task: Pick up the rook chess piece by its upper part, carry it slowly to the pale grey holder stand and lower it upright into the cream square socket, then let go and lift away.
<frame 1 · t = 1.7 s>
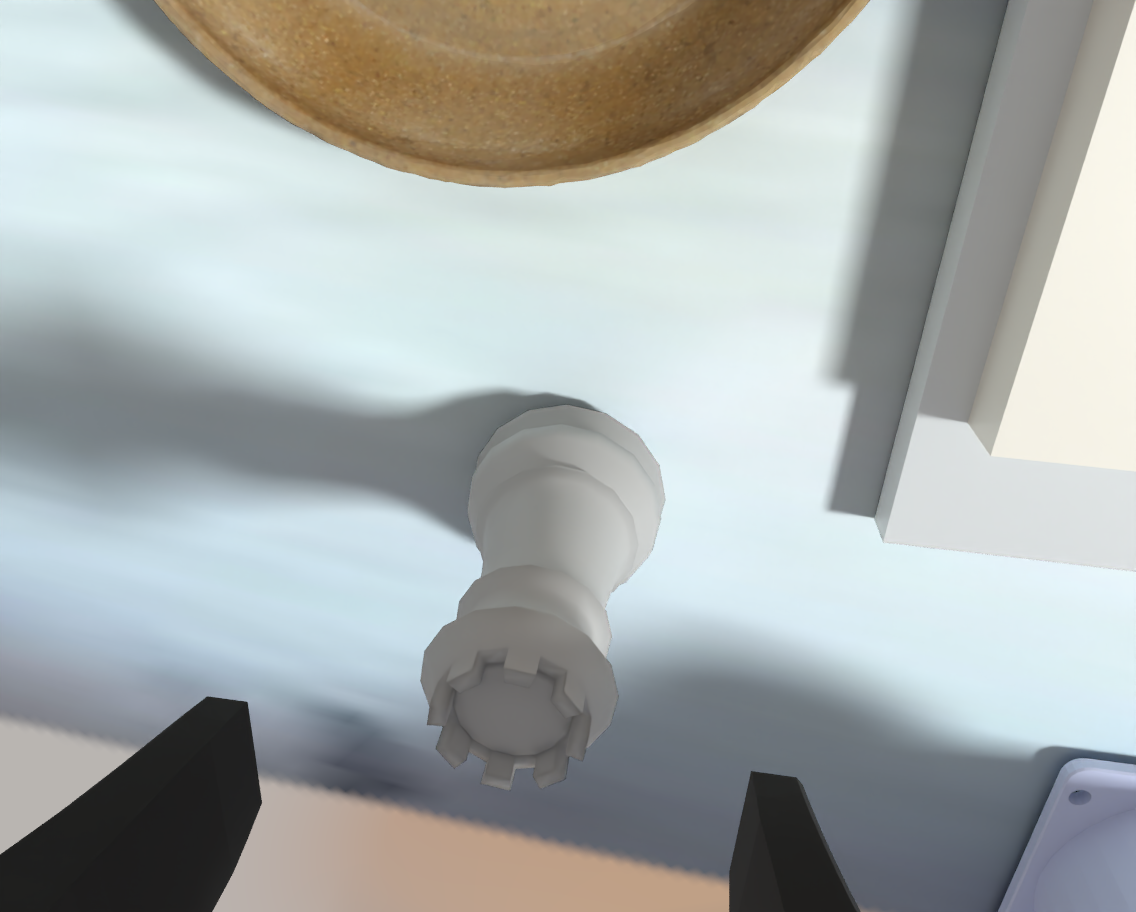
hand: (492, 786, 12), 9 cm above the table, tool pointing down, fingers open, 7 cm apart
rook chess piece: (571, 479, 21), on the table
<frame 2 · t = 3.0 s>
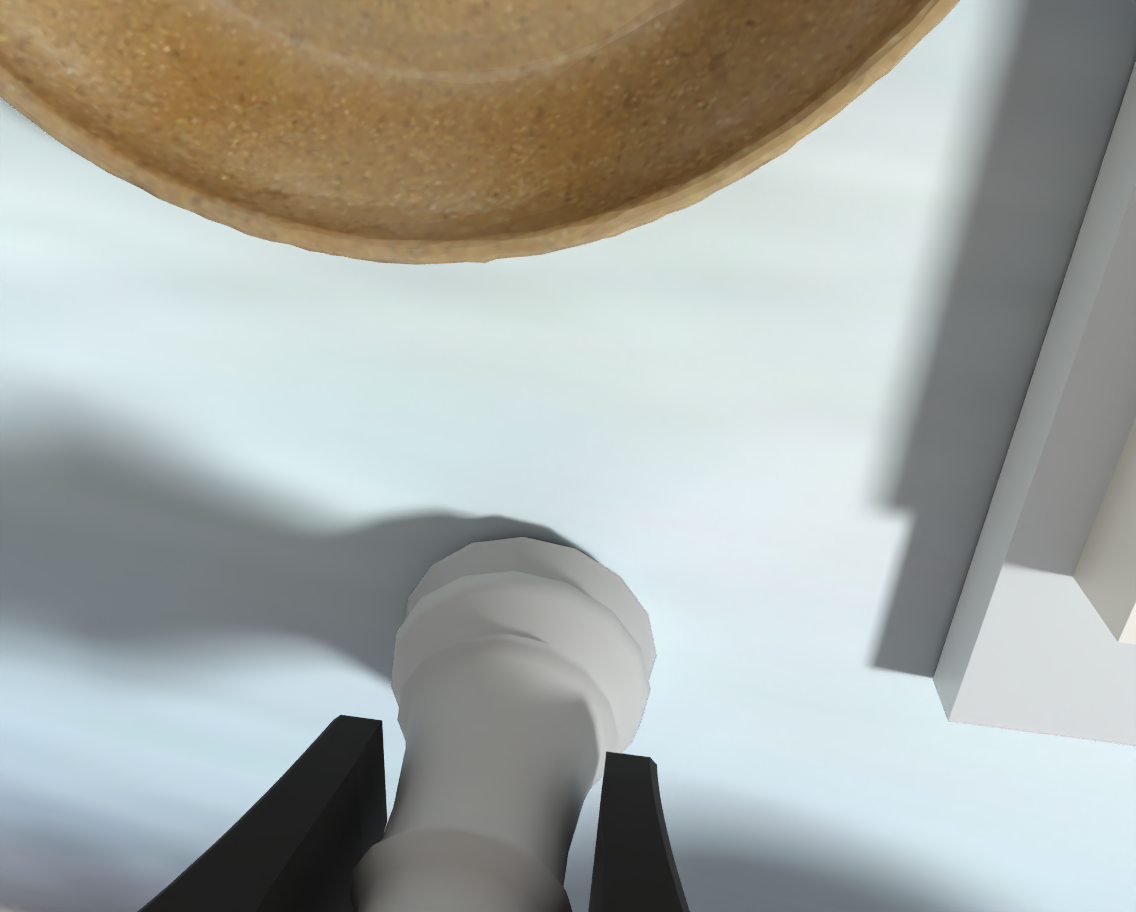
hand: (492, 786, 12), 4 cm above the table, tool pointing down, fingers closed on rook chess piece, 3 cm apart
rook chess piece: (533, 621, 16), on the table, touching gripper
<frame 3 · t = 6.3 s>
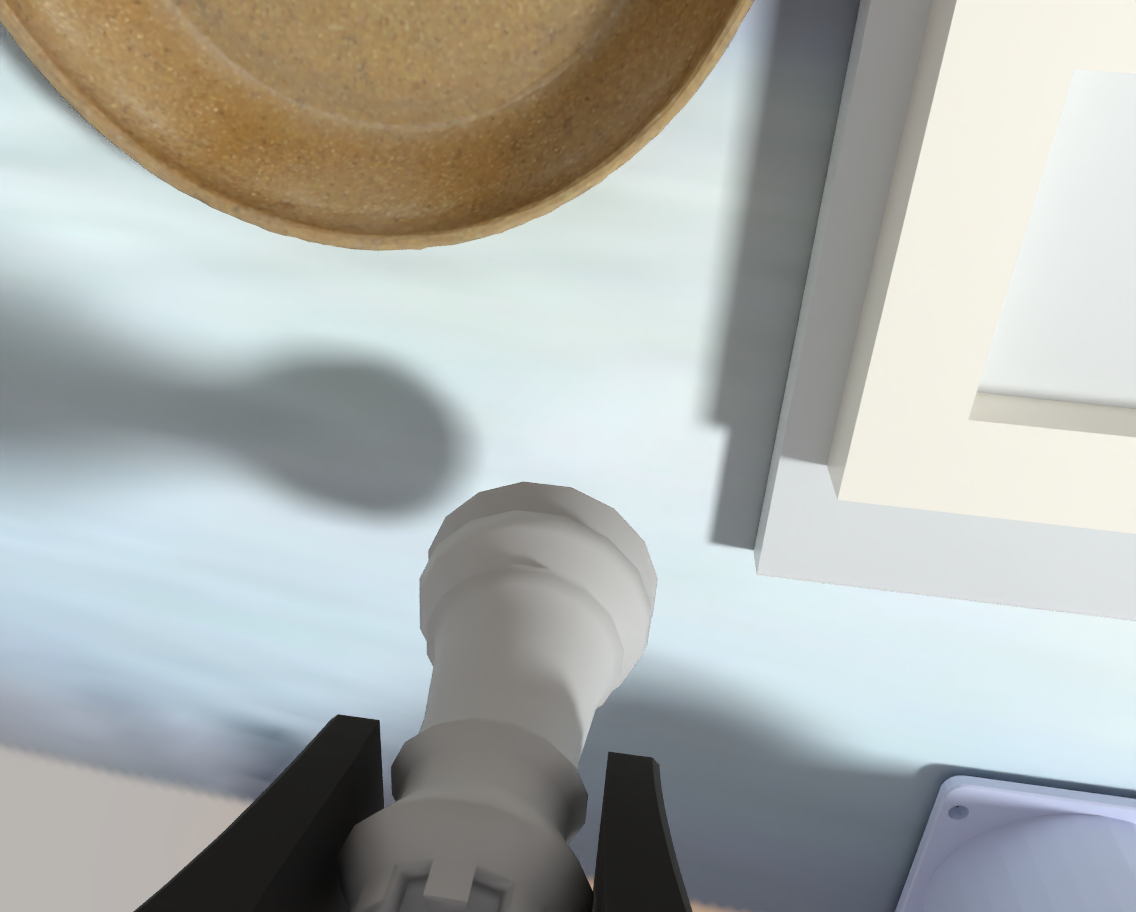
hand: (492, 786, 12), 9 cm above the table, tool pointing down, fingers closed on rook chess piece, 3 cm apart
holder stand: (1132, 243, 17), on the table
rook chess piece: (545, 563, 17), point 4 cm above the table, touching gripper
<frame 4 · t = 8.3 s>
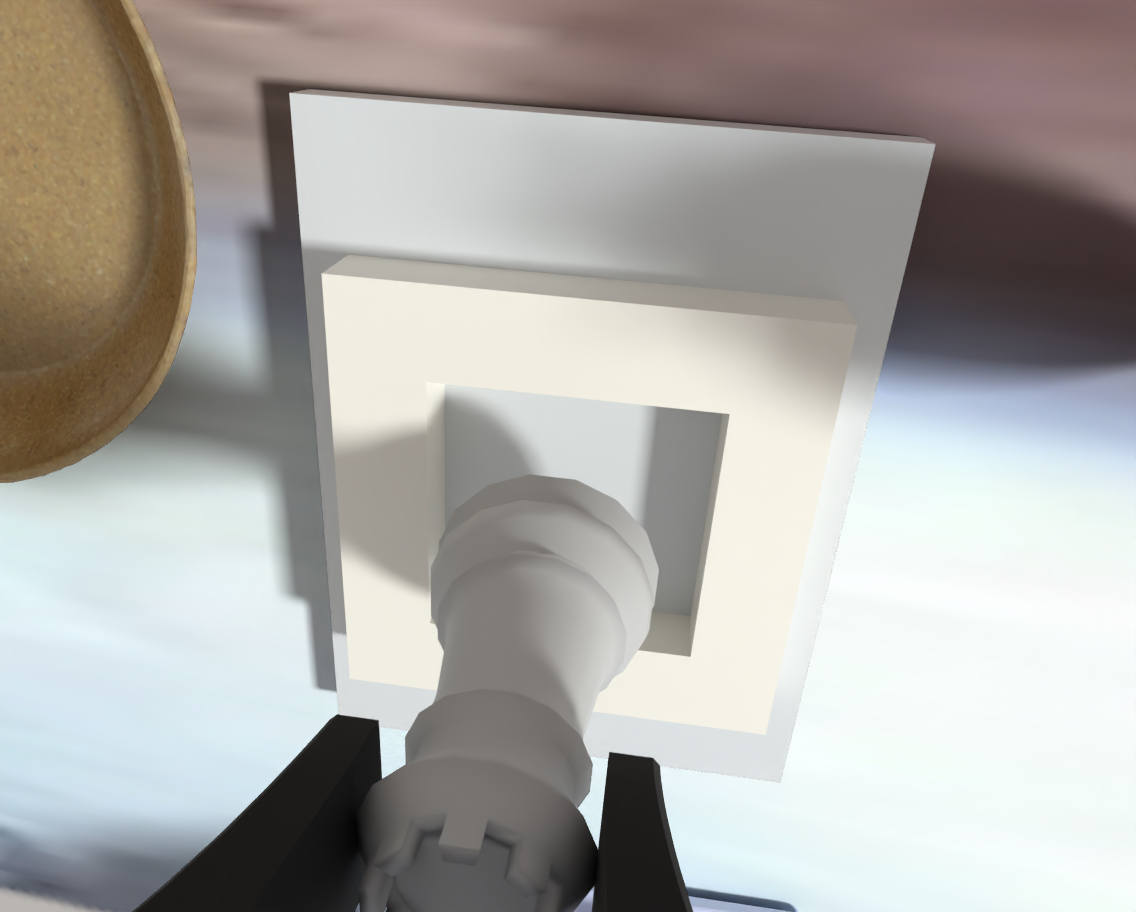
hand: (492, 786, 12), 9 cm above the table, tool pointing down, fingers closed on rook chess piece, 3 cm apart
holder stand: (579, 472, 21), on the table
rook chess piece: (551, 555, 18), point 3 cm above the table, touching gripper
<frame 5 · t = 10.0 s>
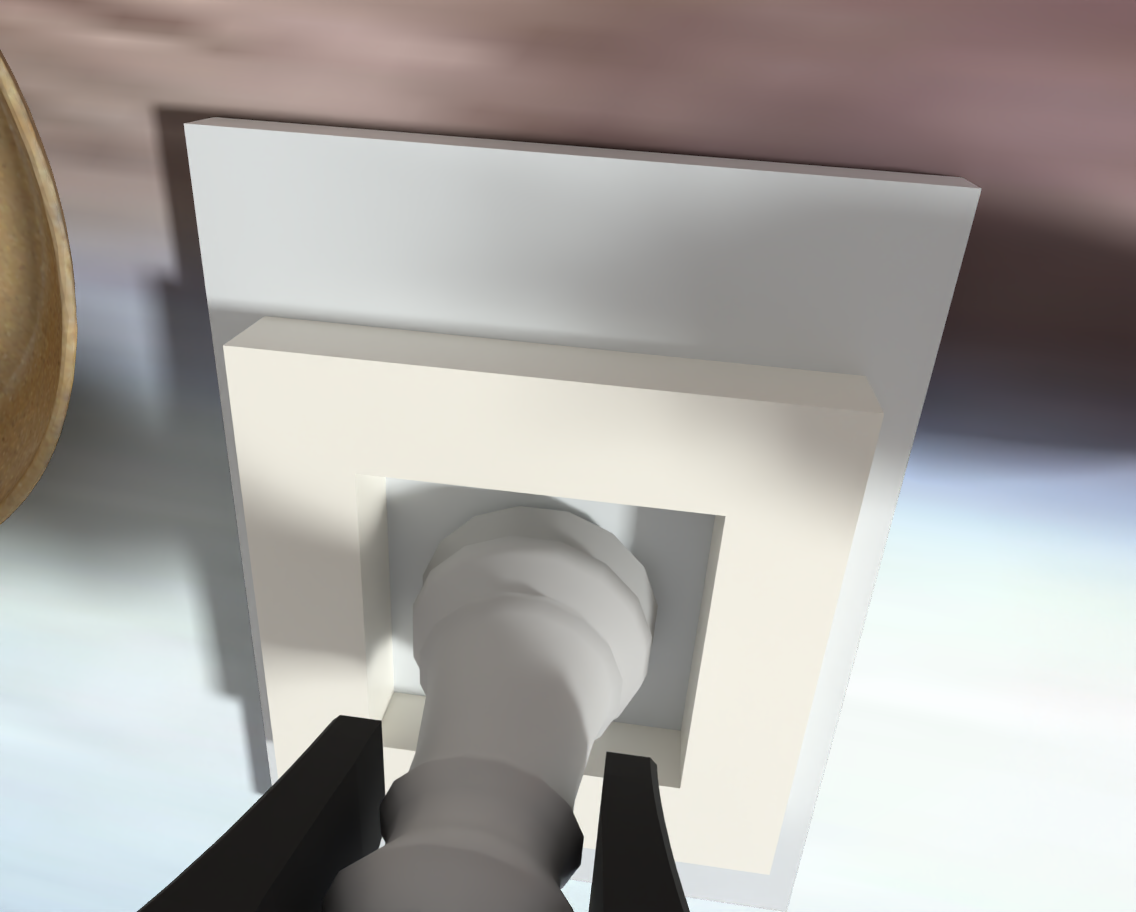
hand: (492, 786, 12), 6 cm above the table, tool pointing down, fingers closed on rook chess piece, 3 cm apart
holder stand: (549, 563, 17), on the table
rook chess piece: (543, 588, 17), point 1 cm above the table, touching gripper, holder stand
when the fingers open (5 cm above the table, at t = 10.6 s): rook chess piece stays where it is, resting on holder stand.
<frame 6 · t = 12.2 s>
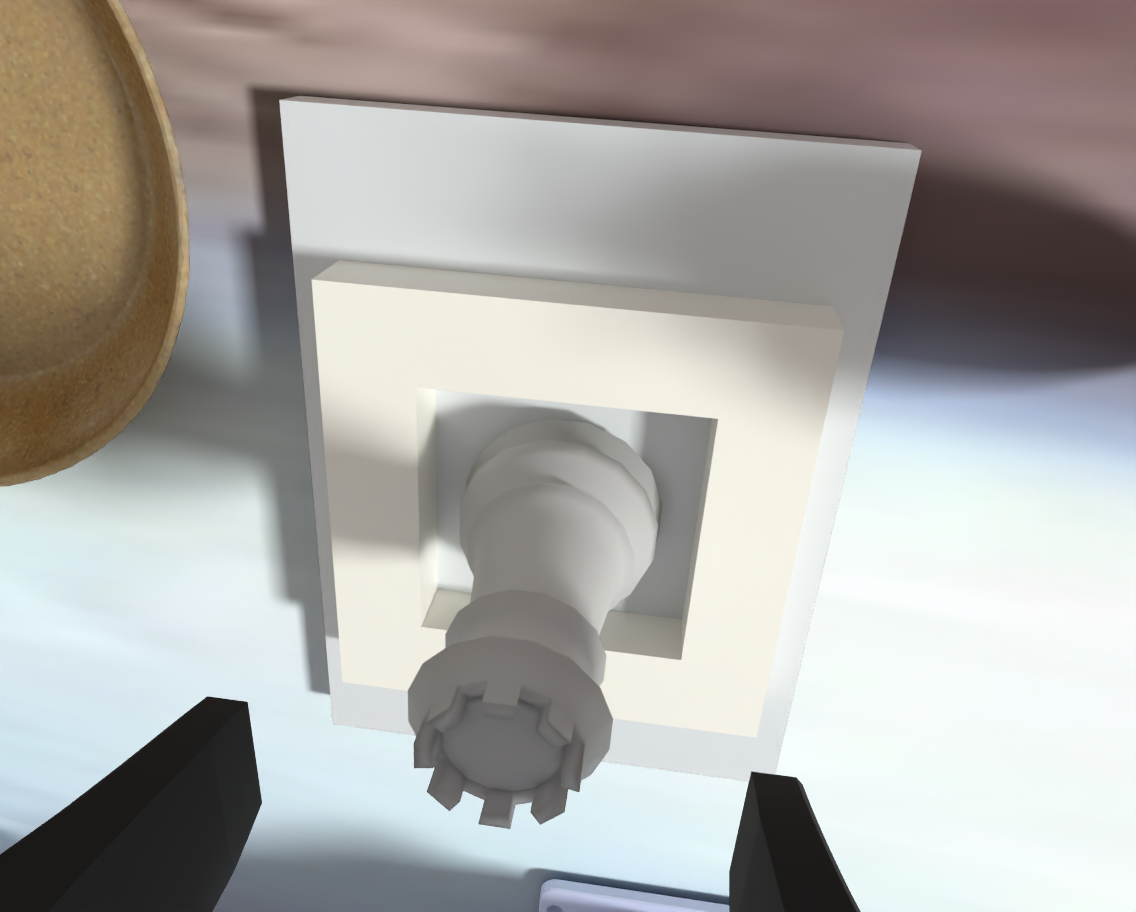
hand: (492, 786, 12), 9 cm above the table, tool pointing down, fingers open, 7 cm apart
holder stand: (570, 476, 21), on the table
rook chess piece: (565, 494, 20), point 1 cm above the table, touching holder stand
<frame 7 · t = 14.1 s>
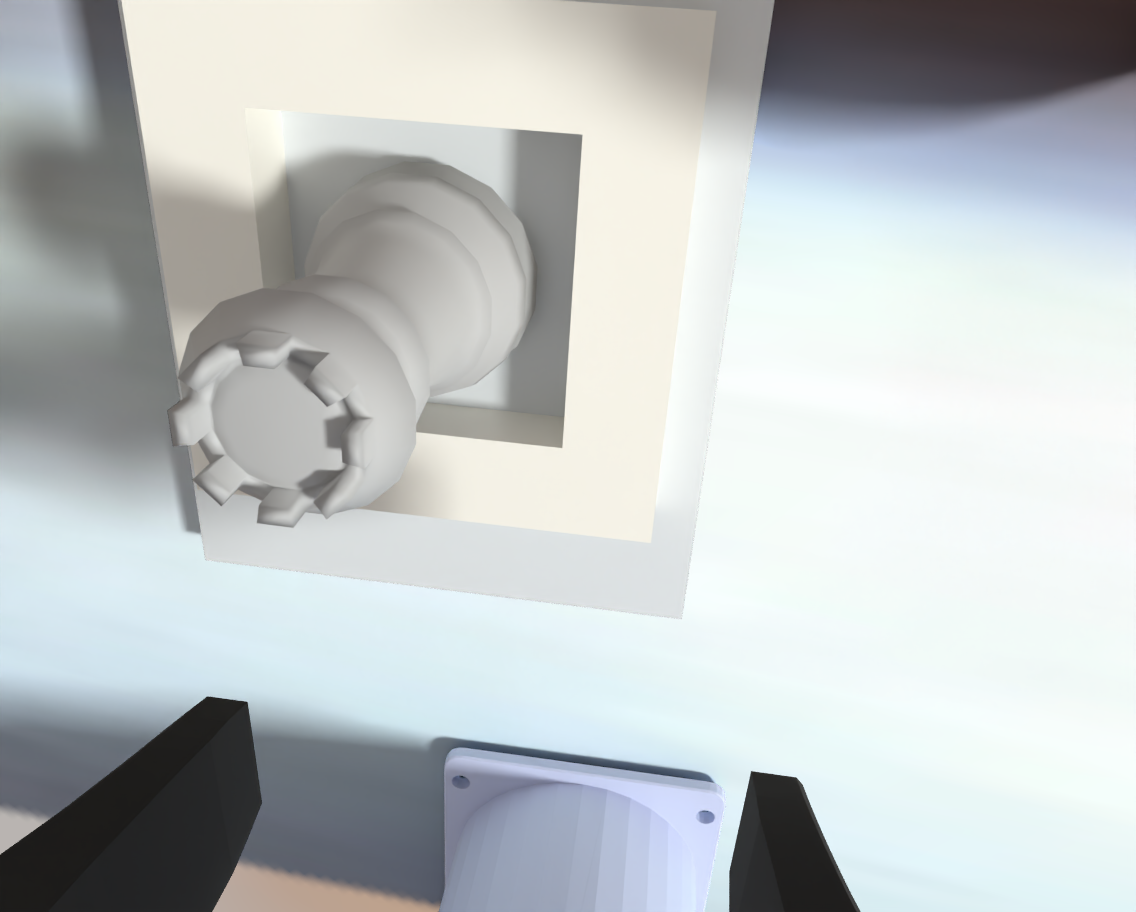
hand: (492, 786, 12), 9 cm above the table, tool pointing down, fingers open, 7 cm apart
holder stand: (446, 257, 19), on the table
rook chess piece: (436, 268, 18), point 1 cm above the table, touching holder stand
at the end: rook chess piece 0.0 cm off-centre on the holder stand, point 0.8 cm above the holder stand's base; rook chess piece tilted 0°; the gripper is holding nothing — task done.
